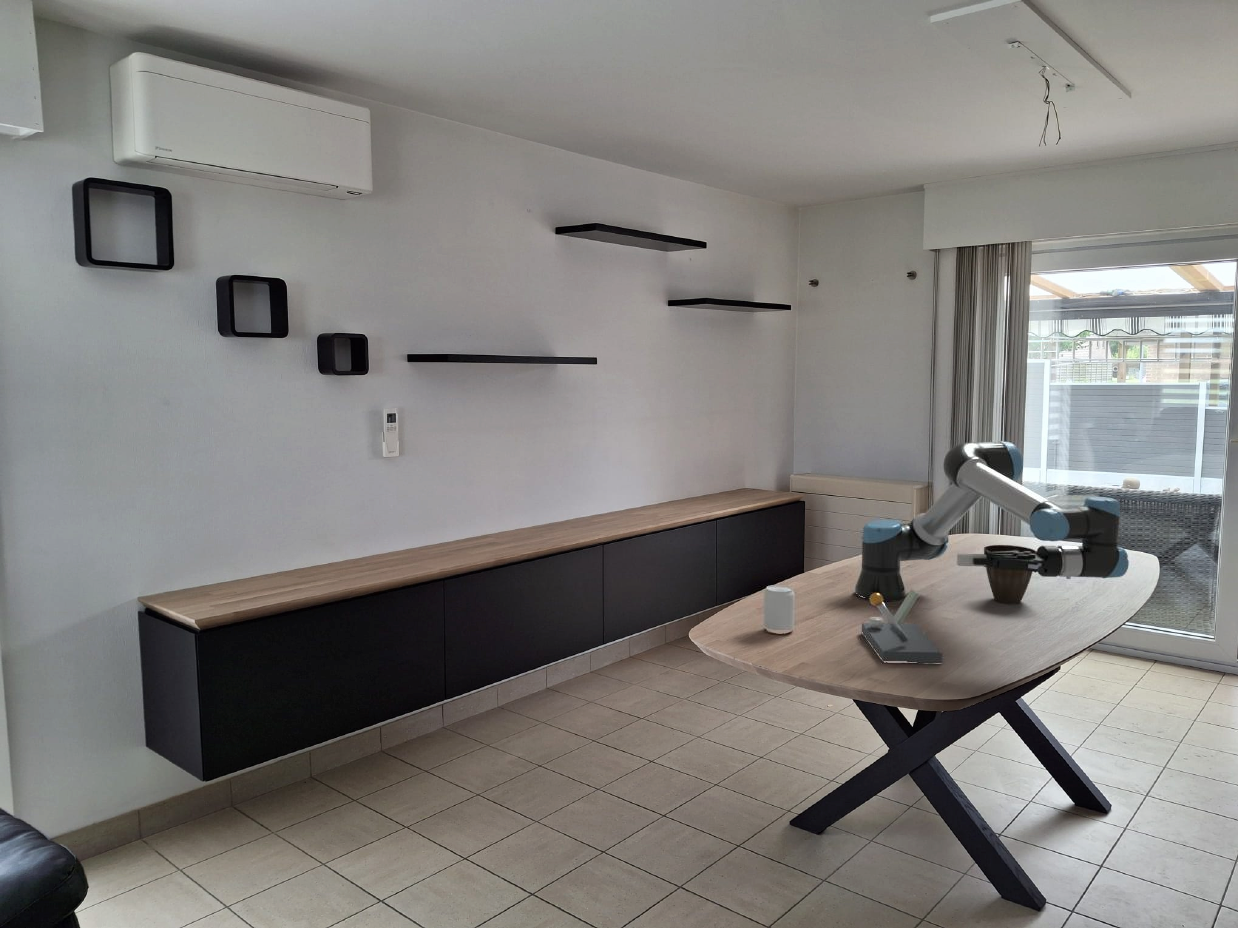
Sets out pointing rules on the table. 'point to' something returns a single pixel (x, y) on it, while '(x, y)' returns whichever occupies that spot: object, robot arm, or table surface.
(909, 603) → the sage paddle
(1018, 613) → the table surface
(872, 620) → the white push button
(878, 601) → the steel toggle lever
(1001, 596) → the plant pot
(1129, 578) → the table surface
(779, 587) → the beverage can
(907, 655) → the switch panel
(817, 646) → the table surface
